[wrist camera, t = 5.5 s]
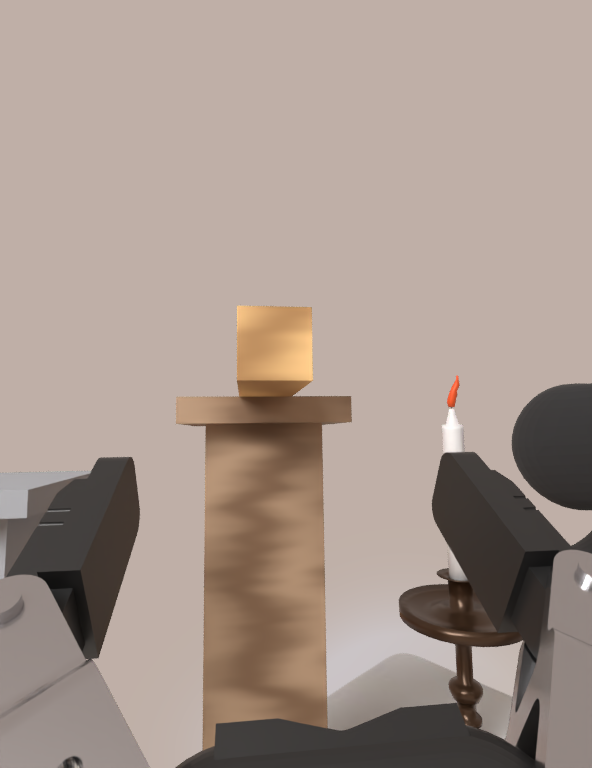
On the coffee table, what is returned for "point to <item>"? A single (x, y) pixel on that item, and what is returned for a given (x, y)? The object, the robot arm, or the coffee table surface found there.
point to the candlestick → (455, 606)
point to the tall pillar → (264, 556)
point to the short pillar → (26, 508)
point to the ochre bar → (273, 350)
